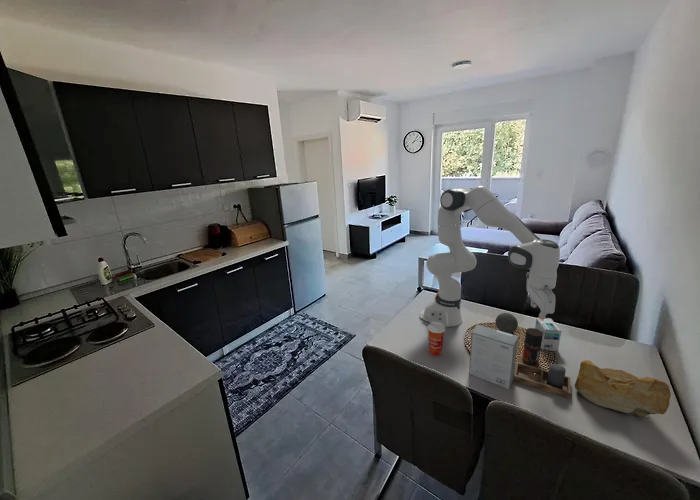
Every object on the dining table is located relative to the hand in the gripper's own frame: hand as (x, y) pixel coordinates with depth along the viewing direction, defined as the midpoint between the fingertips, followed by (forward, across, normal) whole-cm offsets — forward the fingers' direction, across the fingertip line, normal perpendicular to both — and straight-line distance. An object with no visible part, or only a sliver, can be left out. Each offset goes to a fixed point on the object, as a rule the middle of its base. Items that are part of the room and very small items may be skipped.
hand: (537, 312), depth 119 cm
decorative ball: (+24, +23, +4) cm, 34 cm away
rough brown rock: (+25, -17, -22) cm, 37 cm away
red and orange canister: (+24, +1, +39) cm, 46 cm away
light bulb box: (+24, +15, -11) cm, 31 cm away
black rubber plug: (+24, -14, -4) cm, 28 cm away
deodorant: (+24, 0, 0) cm, 24 cm away
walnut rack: (+24, -12, 0) cm, 27 cm away
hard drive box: (+24, -12, +18) cm, 33 cm away
